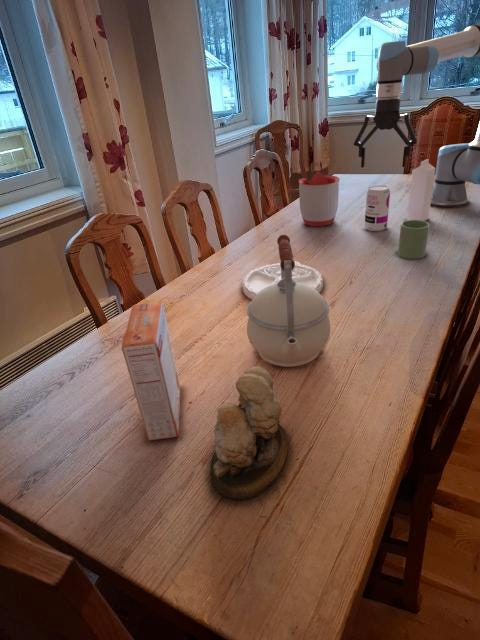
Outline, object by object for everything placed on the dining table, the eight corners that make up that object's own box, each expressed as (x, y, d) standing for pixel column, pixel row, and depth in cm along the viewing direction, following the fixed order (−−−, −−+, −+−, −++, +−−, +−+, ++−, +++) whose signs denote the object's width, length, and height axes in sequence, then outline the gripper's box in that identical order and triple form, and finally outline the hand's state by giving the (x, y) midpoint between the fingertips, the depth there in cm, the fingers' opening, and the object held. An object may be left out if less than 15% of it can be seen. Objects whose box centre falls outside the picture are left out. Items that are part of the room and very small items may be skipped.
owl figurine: (240, 413, 81) (231, 337, 72) (300, 427, 76) (299, 348, 68) (195, 489, 67) (177, 406, 58) (266, 512, 62) (258, 426, 54)
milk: (428, 218, 166) (437, 159, 155) (420, 223, 163) (429, 162, 152) (413, 216, 170) (421, 157, 159) (405, 220, 167) (413, 161, 156)
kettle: (249, 326, 108) (240, 231, 95) (322, 322, 107) (324, 225, 94) (248, 391, 86) (236, 278, 74) (340, 386, 85) (344, 271, 73)
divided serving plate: (231, 300, 121) (230, 293, 120) (260, 263, 142) (259, 256, 141) (313, 308, 113) (313, 300, 112) (331, 267, 135) (331, 260, 133)
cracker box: (152, 392, 89) (131, 303, 78) (181, 388, 89) (164, 299, 78) (145, 442, 76) (119, 345, 66) (179, 438, 77) (158, 340, 66)
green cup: (408, 247, 143) (412, 218, 138) (430, 254, 137) (435, 223, 132) (392, 254, 139) (395, 224, 134) (414, 261, 133) (418, 230, 128)
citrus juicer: (324, 213, 183) (325, 164, 173) (345, 224, 169) (347, 171, 159) (291, 219, 180) (289, 170, 170) (309, 231, 165) (309, 178, 155)
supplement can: (387, 224, 164) (390, 185, 157) (386, 232, 157) (389, 190, 150) (365, 224, 167) (367, 185, 159) (363, 231, 160) (365, 190, 152)
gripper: (347, 101, 140) (344, 169, 150) (430, 96, 131) (421, 168, 142) (350, 99, 146) (348, 164, 156) (430, 94, 137) (421, 163, 148)
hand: (382, 166), depth 149 cm, fingers open, 13 cm apart
